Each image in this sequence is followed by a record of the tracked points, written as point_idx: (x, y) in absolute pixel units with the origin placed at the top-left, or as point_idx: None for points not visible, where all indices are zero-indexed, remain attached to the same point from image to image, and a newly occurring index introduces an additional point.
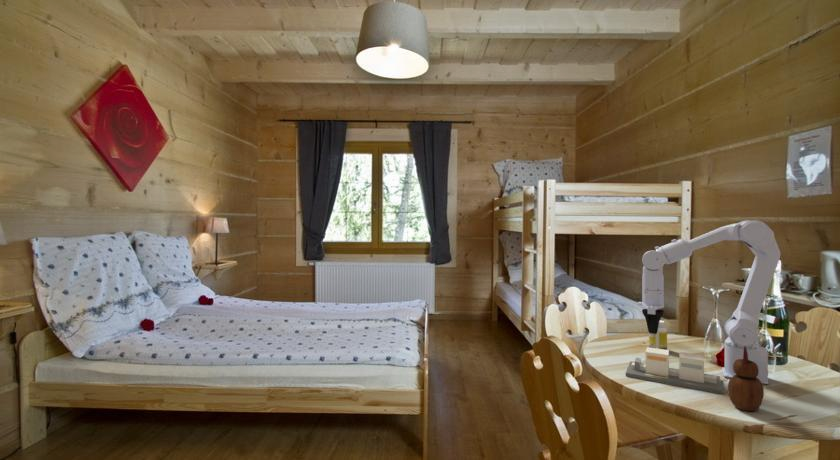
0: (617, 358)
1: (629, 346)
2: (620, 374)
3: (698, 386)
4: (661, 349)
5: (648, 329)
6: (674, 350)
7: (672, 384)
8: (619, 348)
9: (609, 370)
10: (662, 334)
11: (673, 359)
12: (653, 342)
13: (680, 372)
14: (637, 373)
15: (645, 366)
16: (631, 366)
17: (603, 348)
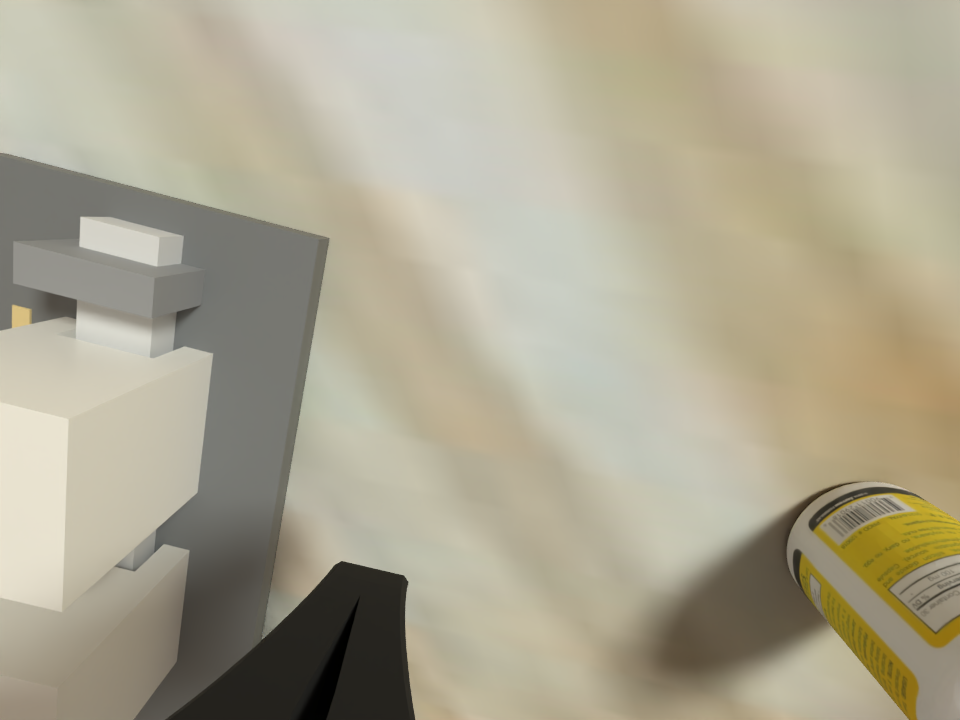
0: (477, 140)
1: (925, 315)
2: (29, 114)
3: None
4: (45, 548)
5: (308, 597)
6: (844, 649)
7: None
8: (835, 203)
9: (84, 20)
10: (896, 695)
11: (590, 586)
12: (858, 545)
13: None
14: (12, 249)
15: (88, 332)
16: (96, 217)
17: (808, 17)
